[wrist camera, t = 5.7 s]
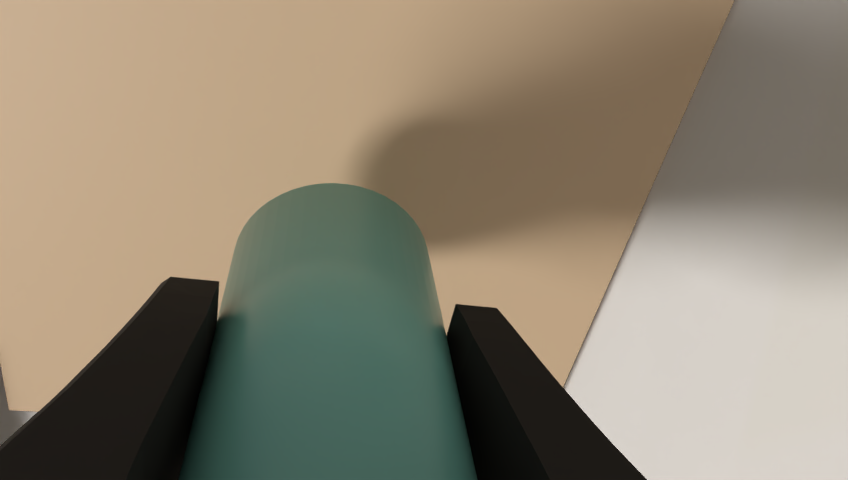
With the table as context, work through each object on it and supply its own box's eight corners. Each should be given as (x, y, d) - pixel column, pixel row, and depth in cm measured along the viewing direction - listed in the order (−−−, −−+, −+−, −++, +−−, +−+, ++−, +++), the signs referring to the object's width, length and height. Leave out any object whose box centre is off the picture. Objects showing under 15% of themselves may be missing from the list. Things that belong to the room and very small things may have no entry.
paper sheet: (16, 396, 15) (8, 410, 14) (-108, -319, 8) (-127, -324, 8) (537, 425, 18) (540, 437, 17) (762, -95, 11) (775, -93, 11)
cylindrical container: (228, 333, 11) (105, 903, 5) (239, 169, 9) (77, 729, 4) (408, 348, 12) (481, 867, 6) (448, 197, 10) (602, 708, 4)
